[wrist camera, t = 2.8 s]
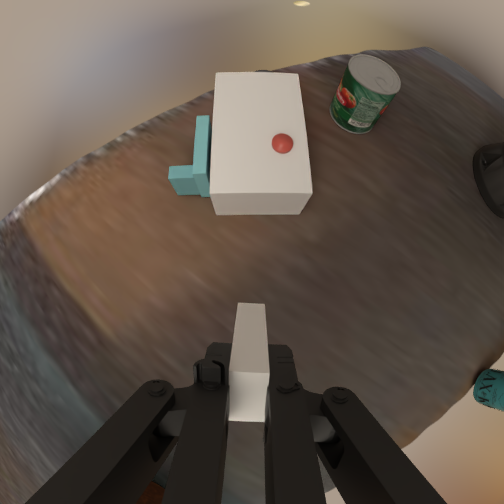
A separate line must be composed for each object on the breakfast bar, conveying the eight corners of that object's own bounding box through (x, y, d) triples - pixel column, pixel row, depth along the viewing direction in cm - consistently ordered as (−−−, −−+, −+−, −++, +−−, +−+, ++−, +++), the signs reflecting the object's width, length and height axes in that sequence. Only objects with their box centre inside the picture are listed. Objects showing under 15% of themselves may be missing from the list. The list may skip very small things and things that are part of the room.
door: (214, 145, 40) (209, 115, 32) (212, 196, 38) (205, 173, 31) (183, 146, 39) (173, 117, 32) (179, 197, 38) (166, 175, 31)
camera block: (289, 99, 42) (297, 63, 33) (299, 214, 38) (313, 191, 30) (218, 99, 41) (214, 62, 33) (214, 215, 38) (206, 191, 30)
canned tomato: (321, 101, 42) (337, 55, 31) (358, 94, 43) (380, 52, 32) (344, 139, 41) (369, 96, 30) (382, 130, 41) (411, 91, 31)
